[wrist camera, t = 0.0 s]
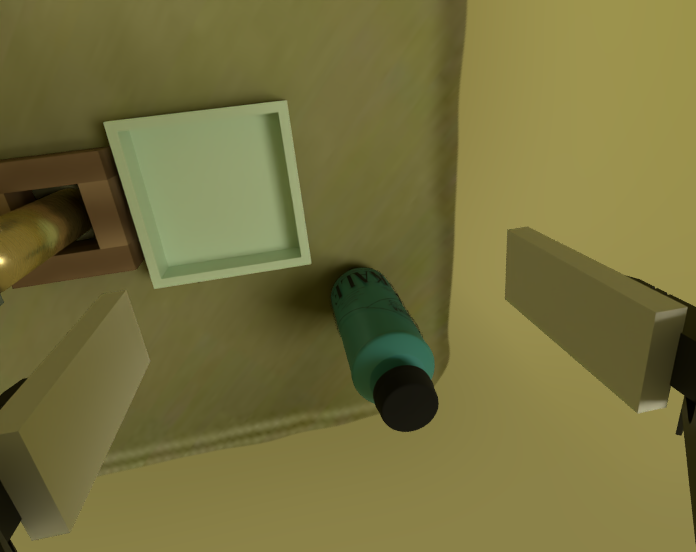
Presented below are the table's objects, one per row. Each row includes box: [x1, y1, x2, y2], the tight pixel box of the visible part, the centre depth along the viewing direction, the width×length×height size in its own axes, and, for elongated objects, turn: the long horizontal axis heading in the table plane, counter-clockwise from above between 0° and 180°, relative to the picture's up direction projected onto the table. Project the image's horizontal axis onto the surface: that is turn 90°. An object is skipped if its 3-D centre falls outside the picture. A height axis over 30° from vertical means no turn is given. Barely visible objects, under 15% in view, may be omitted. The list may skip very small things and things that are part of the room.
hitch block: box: [0, 146, 145, 289], centre depth 37 cm, size 10×10×4 cm
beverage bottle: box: [330, 268, 438, 432], centre depth 37 cm, size 6×7×20 cm
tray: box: [103, 100, 311, 289], centre depth 39 cm, size 14×14×4 cm
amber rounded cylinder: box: [0, 188, 93, 306], centre depth 32 cm, size 5×4×15 cm
